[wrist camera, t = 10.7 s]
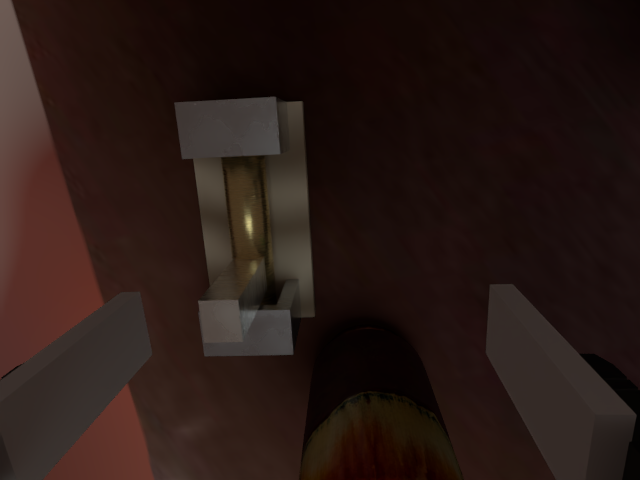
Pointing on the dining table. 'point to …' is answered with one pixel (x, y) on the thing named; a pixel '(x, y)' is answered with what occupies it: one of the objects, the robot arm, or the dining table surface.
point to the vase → (374, 413)
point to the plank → (284, 207)
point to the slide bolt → (242, 254)
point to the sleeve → (233, 127)
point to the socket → (267, 328)
